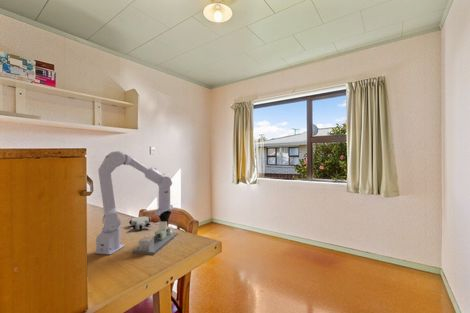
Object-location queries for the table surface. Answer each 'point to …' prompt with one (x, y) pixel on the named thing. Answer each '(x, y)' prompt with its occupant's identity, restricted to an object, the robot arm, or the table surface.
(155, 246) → the board
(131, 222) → the robot toy
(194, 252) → the table surface
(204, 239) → the table surface
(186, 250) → the table surface
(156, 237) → the dark grey bar
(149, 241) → the connector
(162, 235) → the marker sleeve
